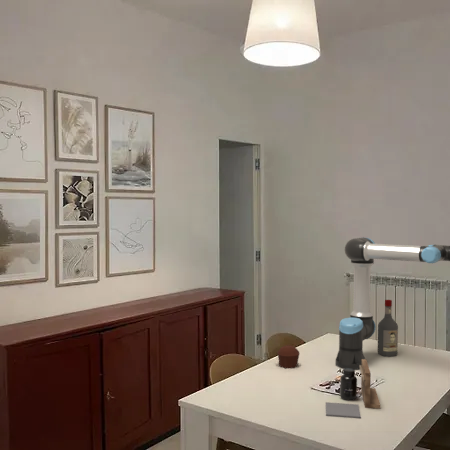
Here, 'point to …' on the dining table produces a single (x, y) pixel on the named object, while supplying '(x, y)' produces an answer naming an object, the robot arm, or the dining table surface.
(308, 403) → the dining table surface
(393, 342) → the liquor
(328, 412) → the rubber mat
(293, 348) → the muffin
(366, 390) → the board
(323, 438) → the dining table surface
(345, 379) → the supplement bottle
